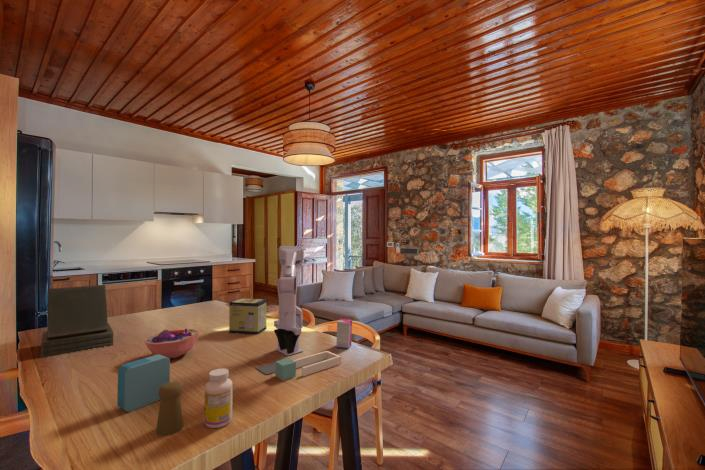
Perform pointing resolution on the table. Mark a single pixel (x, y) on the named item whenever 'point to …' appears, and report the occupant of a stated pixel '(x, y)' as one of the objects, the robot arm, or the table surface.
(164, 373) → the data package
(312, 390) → the table surface
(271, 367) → the mat
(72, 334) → the dark stepped-base plaque
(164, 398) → the brown pepper mill
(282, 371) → the block
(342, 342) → the supplement box
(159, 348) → the cell model
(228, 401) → the supplement bottle
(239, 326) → the protein box
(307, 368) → the frame
